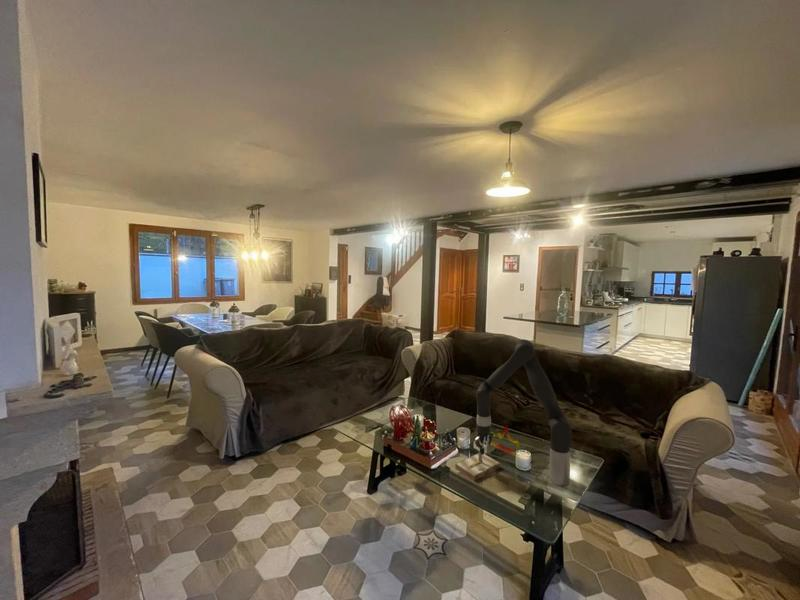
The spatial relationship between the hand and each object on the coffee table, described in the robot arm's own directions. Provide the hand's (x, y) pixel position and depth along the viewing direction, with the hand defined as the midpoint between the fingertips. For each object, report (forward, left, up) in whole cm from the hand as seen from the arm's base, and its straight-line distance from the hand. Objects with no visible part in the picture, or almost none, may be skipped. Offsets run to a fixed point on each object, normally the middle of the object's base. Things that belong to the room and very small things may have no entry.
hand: (483, 452), depth 189 cm
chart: (-23, -7, -10) cm, 26 cm away
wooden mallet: (+4, -2, -6) cm, 8 cm away
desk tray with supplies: (+2, -2, -9) cm, 10 cm away
